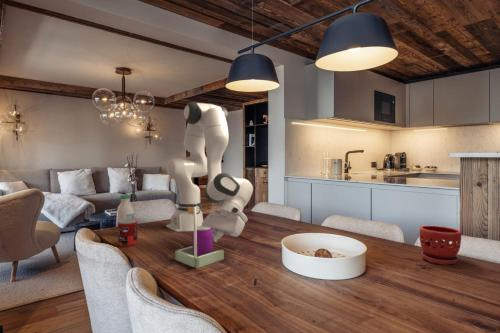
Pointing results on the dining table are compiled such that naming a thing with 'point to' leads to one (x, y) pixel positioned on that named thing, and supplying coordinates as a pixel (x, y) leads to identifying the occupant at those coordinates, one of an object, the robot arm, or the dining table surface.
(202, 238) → the beverage can
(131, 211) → the milk bottle
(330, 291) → the dining table surface
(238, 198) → the robot arm
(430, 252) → the plant pot
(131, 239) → the canned food
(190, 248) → the cup corral
